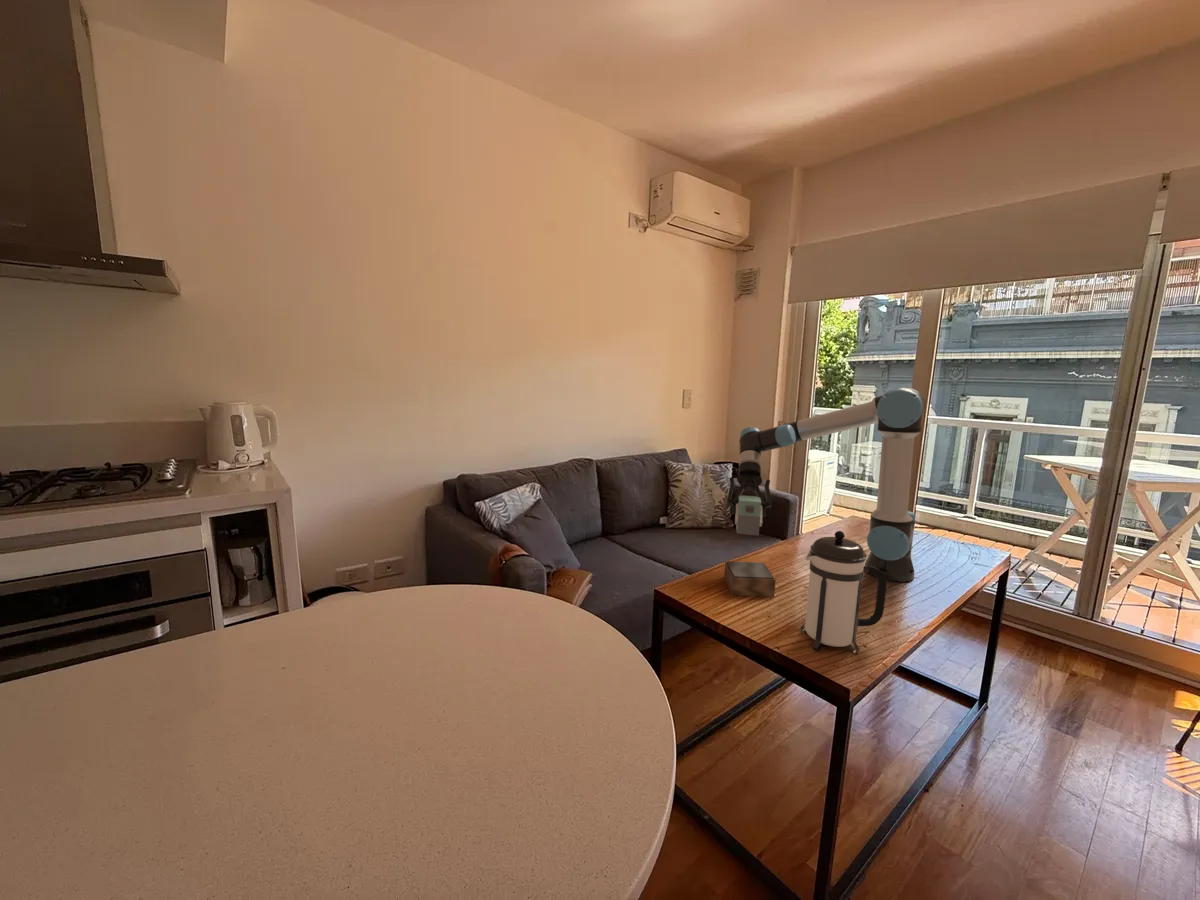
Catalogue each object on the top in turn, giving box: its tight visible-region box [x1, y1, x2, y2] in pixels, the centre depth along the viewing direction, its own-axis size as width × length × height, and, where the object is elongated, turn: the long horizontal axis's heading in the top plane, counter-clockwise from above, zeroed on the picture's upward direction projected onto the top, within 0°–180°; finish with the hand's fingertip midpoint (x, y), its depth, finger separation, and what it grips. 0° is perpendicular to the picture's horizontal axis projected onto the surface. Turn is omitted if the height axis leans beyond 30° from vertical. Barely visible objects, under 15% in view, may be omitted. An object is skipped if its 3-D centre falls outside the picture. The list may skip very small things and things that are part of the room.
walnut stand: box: [723, 560, 777, 598], centre depth 162 cm, size 13×13×6 cm
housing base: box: [735, 515, 760, 536], centre depth 170 cm, size 7×7×6 cm
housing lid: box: [737, 494, 761, 517], centre depth 168 cm, size 7×9×5 cm
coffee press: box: [800, 530, 887, 654], centre depth 129 cm, size 17×16×30 cm
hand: (748, 523), depth 166 cm, fingers closed on housing base, housing lid, 7 cm apart
